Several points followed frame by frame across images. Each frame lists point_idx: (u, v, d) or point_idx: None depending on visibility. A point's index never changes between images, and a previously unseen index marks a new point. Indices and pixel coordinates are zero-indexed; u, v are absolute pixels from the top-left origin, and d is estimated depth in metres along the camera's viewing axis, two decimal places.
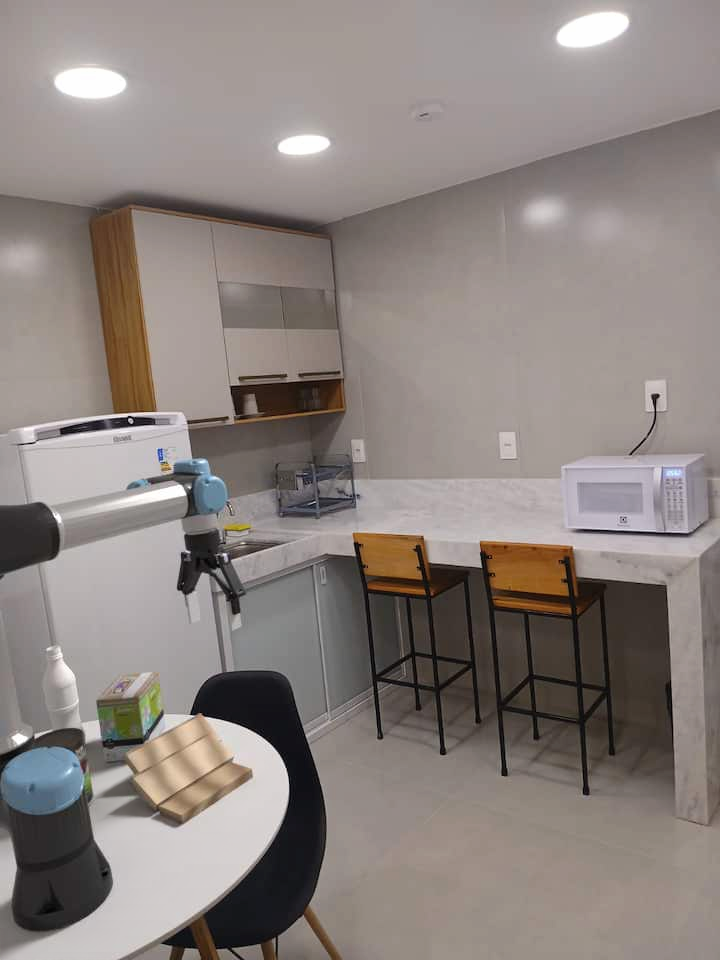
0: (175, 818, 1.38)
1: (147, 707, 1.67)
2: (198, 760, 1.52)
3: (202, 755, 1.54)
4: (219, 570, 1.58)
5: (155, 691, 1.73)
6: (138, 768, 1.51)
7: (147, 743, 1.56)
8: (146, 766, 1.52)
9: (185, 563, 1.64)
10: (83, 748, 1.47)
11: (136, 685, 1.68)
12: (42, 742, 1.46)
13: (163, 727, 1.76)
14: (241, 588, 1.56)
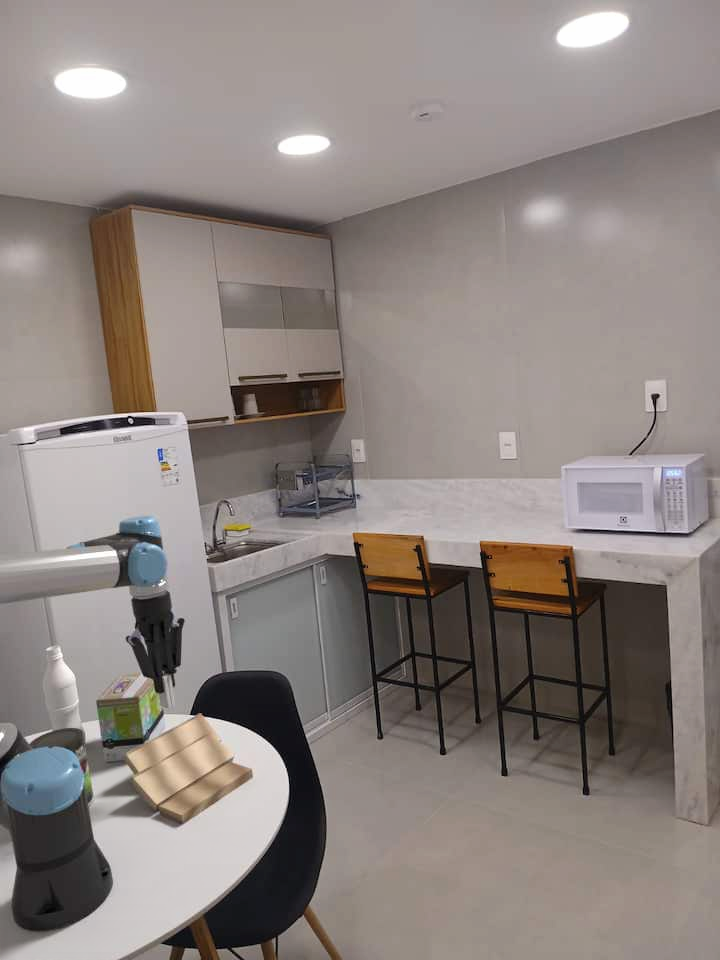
0: (175, 818, 1.38)
1: (147, 707, 1.67)
2: (198, 760, 1.52)
3: (202, 755, 1.54)
4: (150, 644, 1.47)
5: None
6: (138, 768, 1.51)
7: (147, 743, 1.56)
8: (146, 766, 1.52)
9: (171, 628, 1.52)
10: (83, 748, 1.47)
11: (136, 685, 1.68)
12: (42, 742, 1.46)
13: (163, 727, 1.76)
14: (147, 673, 1.46)
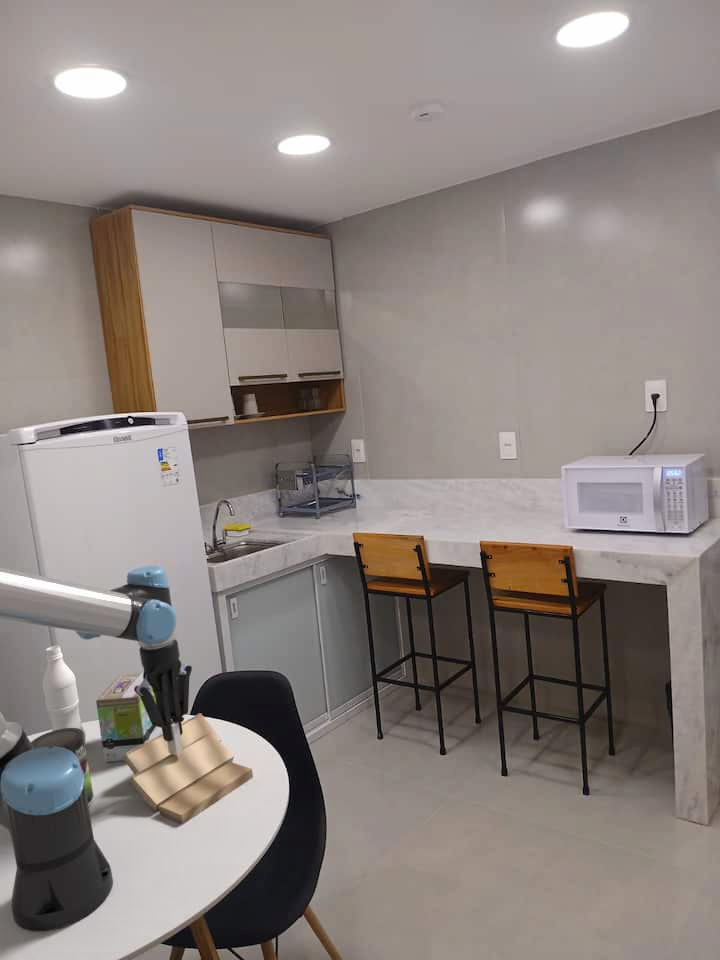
0: (175, 818, 1.38)
1: None
2: (198, 760, 1.52)
3: (202, 755, 1.54)
4: (158, 693, 1.48)
5: None
6: (138, 768, 1.51)
7: (147, 743, 1.56)
8: (146, 766, 1.52)
9: (178, 676, 1.54)
10: (83, 748, 1.47)
11: (136, 685, 1.68)
12: (42, 742, 1.46)
13: None
14: (156, 722, 1.47)
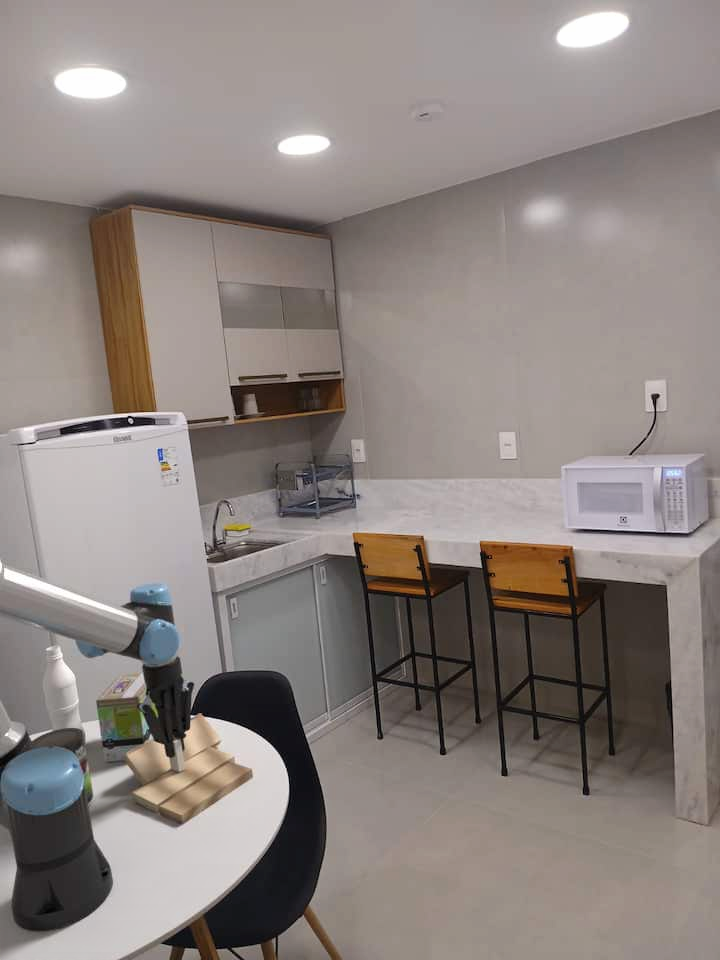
0: (175, 818, 1.38)
1: None
2: (197, 767, 1.53)
3: (202, 763, 1.54)
4: (161, 710, 1.49)
5: None
6: (138, 768, 1.51)
7: (147, 743, 1.56)
8: (146, 766, 1.52)
9: (181, 692, 1.54)
10: (83, 748, 1.47)
11: (136, 685, 1.68)
12: (42, 742, 1.46)
13: None
14: (158, 739, 1.48)
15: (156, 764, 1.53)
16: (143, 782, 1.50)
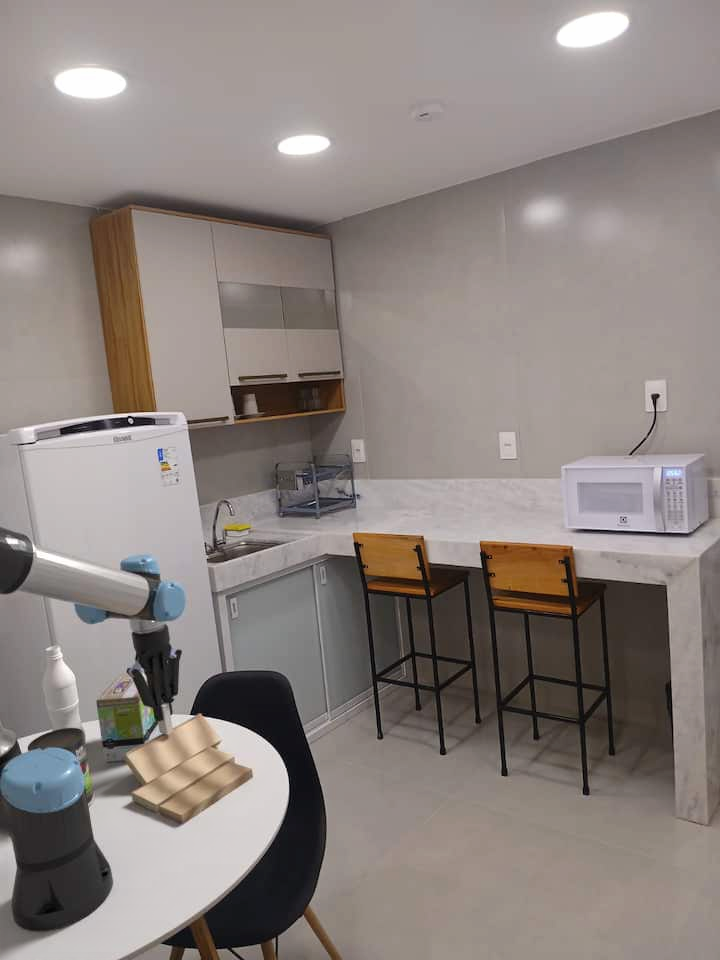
0: (175, 818, 1.38)
1: (147, 707, 1.67)
2: (197, 767, 1.53)
3: (202, 763, 1.54)
4: (149, 675, 1.56)
5: None
6: (138, 768, 1.51)
7: (147, 743, 1.56)
8: (146, 766, 1.52)
9: (169, 659, 1.61)
10: (83, 748, 1.47)
11: None
12: (42, 742, 1.46)
13: None
14: (147, 702, 1.55)
15: (156, 764, 1.53)
16: (143, 782, 1.50)
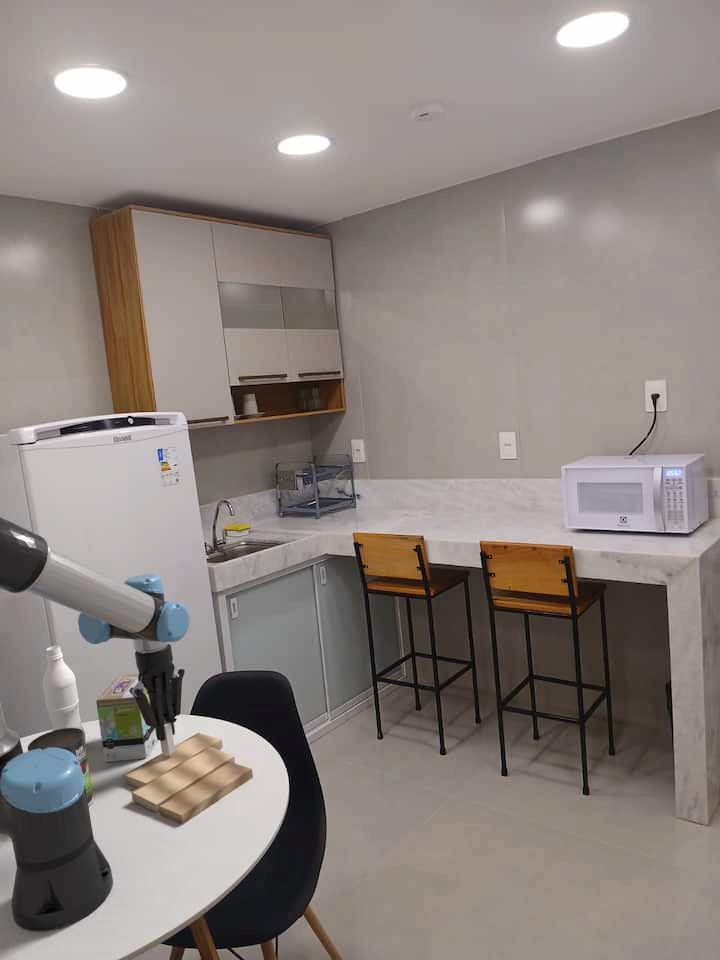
0: (175, 818, 1.38)
1: None
2: (197, 767, 1.53)
3: (202, 763, 1.54)
4: (152, 695, 1.57)
5: None
6: (137, 778, 1.51)
7: (145, 763, 1.58)
8: (145, 775, 1.53)
9: (171, 679, 1.62)
10: (83, 748, 1.47)
11: None
12: (42, 742, 1.46)
13: None
14: (149, 722, 1.55)
15: (155, 771, 1.54)
16: None
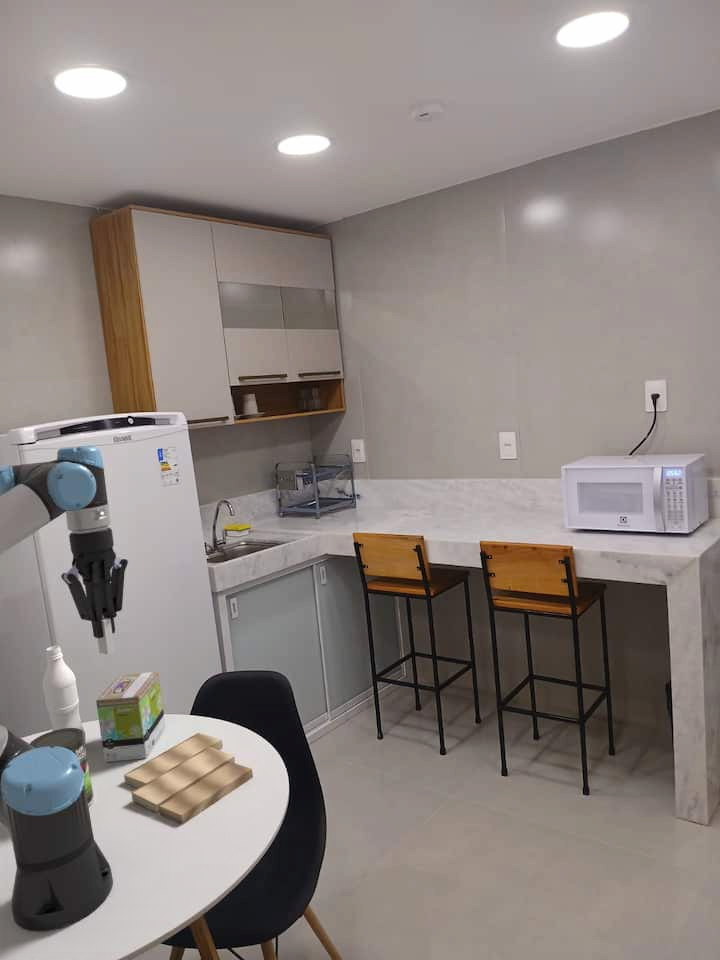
0: (175, 818, 1.38)
1: (147, 707, 1.67)
2: (197, 767, 1.53)
3: (202, 763, 1.54)
4: (89, 584, 1.36)
5: (155, 691, 1.73)
6: (137, 778, 1.51)
7: (145, 763, 1.58)
8: (145, 775, 1.53)
9: (113, 570, 1.41)
10: (83, 748, 1.47)
11: (136, 685, 1.68)
12: (42, 742, 1.46)
13: (163, 727, 1.76)
14: (85, 614, 1.35)
15: (155, 771, 1.54)
16: None
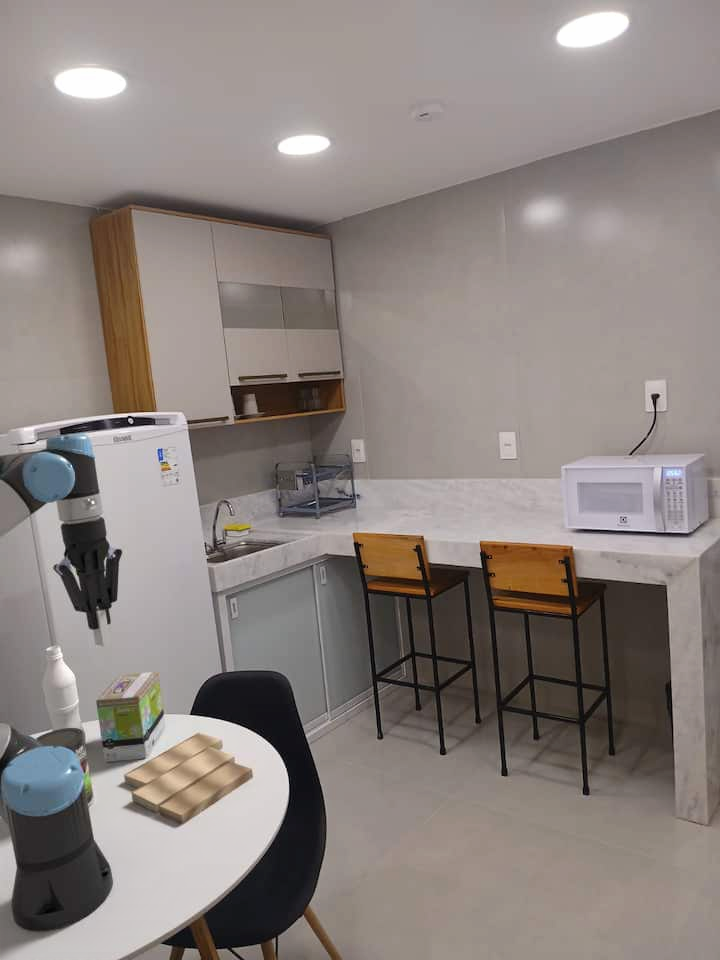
0: (175, 818, 1.38)
1: (147, 707, 1.67)
2: (197, 767, 1.53)
3: (202, 763, 1.54)
4: (82, 575, 1.33)
5: (155, 691, 1.73)
6: (137, 778, 1.51)
7: (145, 763, 1.58)
8: (145, 775, 1.53)
9: (107, 560, 1.39)
10: (83, 748, 1.47)
11: (136, 685, 1.68)
12: (42, 742, 1.46)
13: (163, 727, 1.76)
14: (78, 606, 1.32)
15: (155, 771, 1.54)
16: None
